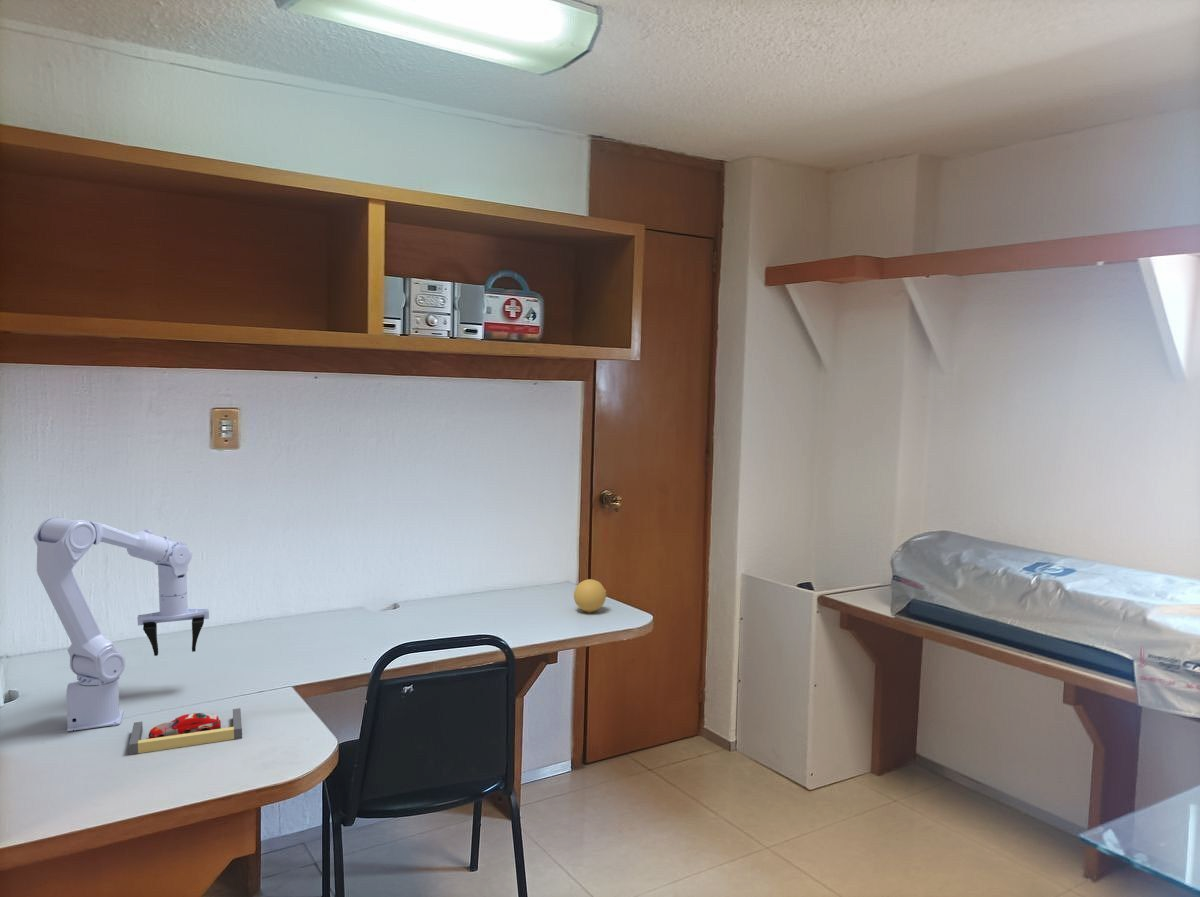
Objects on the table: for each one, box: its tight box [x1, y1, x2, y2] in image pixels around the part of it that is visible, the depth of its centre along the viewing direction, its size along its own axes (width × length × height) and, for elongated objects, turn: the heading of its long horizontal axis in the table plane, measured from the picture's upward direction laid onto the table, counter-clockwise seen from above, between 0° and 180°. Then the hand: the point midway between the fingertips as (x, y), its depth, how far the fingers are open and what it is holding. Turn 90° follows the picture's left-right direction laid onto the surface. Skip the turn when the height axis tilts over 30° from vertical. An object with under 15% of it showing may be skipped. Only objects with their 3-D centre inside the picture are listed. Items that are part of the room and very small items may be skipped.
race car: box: [148, 712, 222, 739], centre depth 177 cm, size 13×5×4 cm, turn 114°
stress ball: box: [573, 578, 607, 614], centre depth 270 cm, size 10×10×10 cm
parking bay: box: [128, 707, 243, 755], centre depth 177 cm, size 20×12×2 cm, turn 114°
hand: (175, 652), depth 200 cm, fingers open, 7 cm apart
